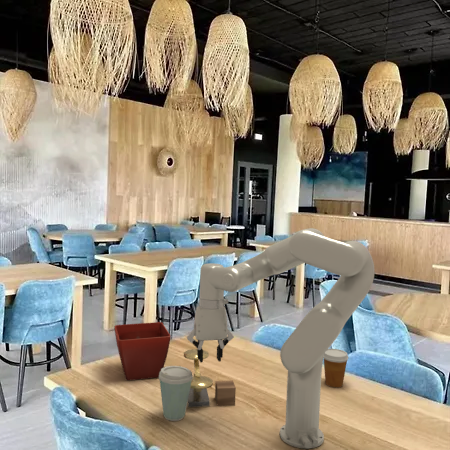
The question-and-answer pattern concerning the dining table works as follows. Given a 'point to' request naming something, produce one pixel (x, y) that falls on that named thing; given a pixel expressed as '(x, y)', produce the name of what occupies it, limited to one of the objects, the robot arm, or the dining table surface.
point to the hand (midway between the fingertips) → (209, 359)
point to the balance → (198, 382)
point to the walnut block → (225, 393)
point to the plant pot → (142, 349)
